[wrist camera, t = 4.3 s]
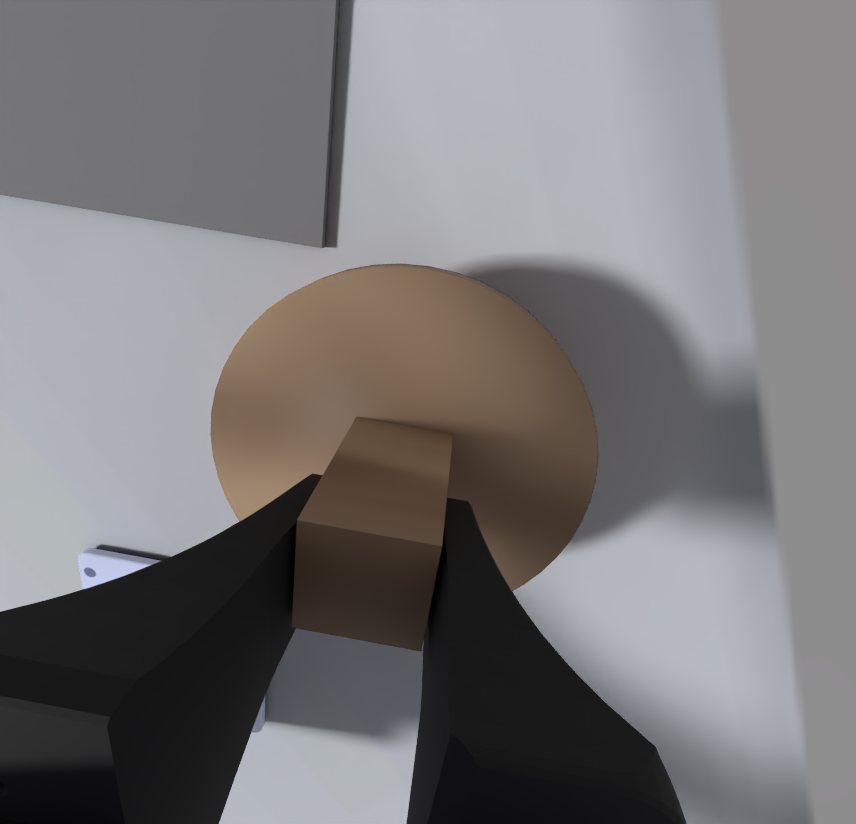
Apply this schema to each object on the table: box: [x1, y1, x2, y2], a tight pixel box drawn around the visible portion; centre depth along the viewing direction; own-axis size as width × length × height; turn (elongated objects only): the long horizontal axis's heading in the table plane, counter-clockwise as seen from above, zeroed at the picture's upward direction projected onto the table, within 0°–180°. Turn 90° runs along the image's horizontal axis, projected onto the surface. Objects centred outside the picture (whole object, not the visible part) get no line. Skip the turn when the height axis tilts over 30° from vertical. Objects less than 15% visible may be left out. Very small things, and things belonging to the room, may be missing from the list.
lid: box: [211, 264, 598, 651], centre depth 11 cm, size 11×11×5 cm
